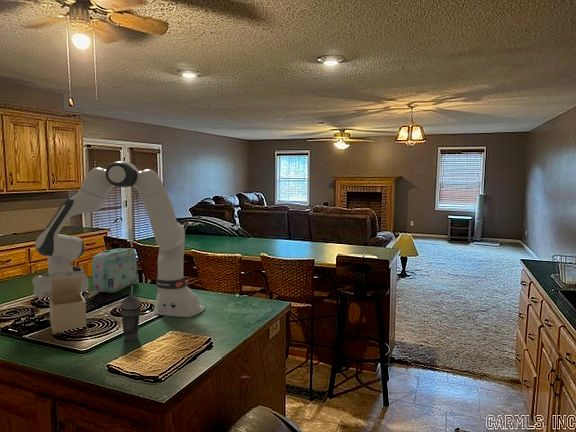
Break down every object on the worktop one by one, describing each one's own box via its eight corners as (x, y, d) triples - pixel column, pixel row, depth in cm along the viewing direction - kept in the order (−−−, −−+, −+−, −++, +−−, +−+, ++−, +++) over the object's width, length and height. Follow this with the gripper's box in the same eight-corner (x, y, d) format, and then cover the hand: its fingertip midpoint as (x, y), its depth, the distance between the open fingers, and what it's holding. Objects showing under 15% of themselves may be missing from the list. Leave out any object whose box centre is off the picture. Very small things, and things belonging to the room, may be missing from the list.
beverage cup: (134, 332, 152) (134, 280, 150) (145, 337, 147) (145, 284, 145) (116, 337, 146) (115, 284, 144) (126, 343, 142) (126, 288, 140)
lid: (49, 307, 162) (49, 305, 163) (77, 303, 168) (77, 301, 169) (52, 279, 148) (52, 278, 148) (83, 276, 154) (83, 274, 154)
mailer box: (50, 324, 157) (49, 297, 156) (81, 319, 163) (80, 293, 162) (53, 334, 147) (52, 305, 146) (86, 329, 154) (85, 301, 152)
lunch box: (108, 296, 195) (107, 253, 193) (89, 294, 197) (89, 252, 195) (139, 282, 221) (139, 244, 219) (122, 281, 223) (122, 243, 221)
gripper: (32, 272, 163) (33, 302, 156) (87, 267, 175) (91, 295, 168) (31, 280, 168) (33, 309, 161) (85, 275, 179) (89, 302, 172)
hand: (63, 302), depth 164 cm, fingers closed, pressing on lid
